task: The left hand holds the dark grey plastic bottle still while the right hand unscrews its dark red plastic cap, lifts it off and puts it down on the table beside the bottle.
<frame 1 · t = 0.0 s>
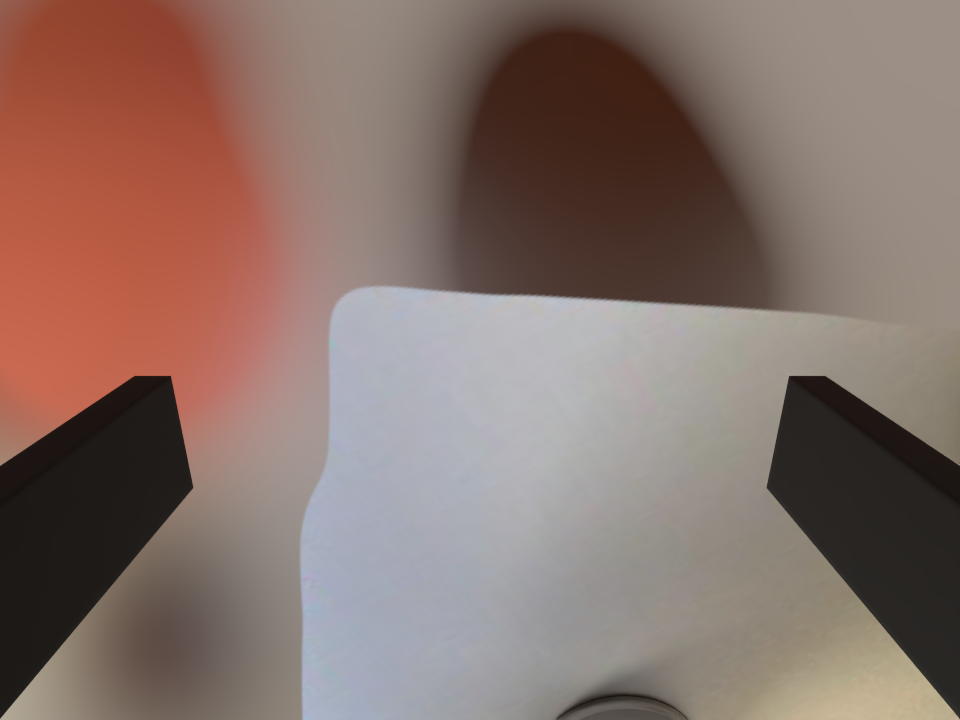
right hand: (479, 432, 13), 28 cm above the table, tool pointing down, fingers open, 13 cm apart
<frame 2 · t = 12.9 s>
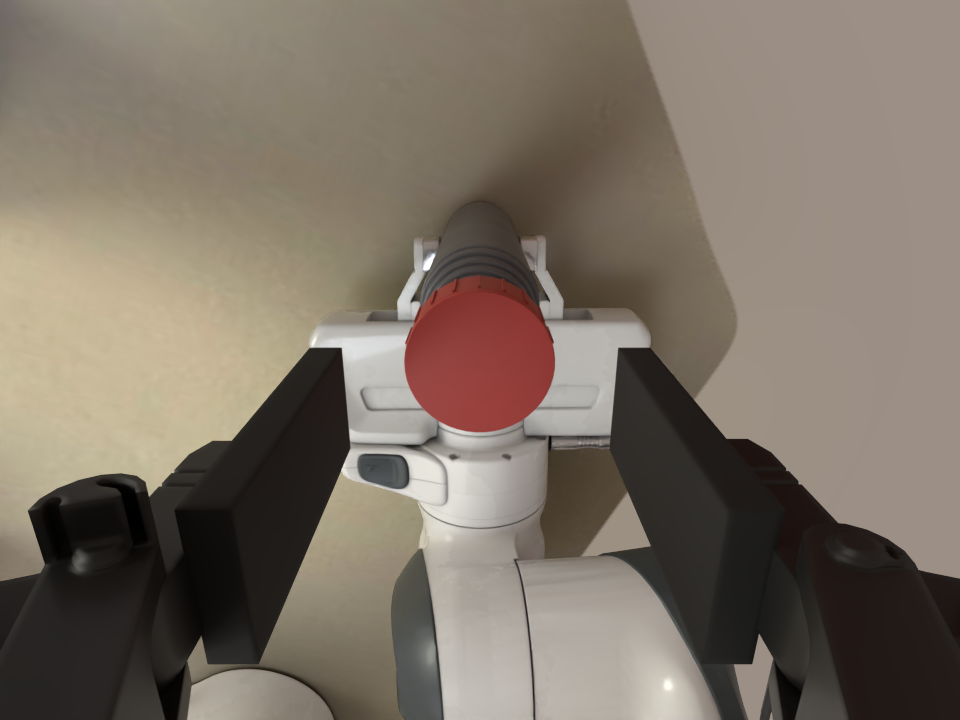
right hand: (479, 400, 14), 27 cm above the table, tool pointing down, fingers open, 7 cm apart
left hand: (479, 237, 33), fingers closed on bottle, 4 cm apart
cap: (479, 361, 17), point 24 cm above the table, screwed on, not yet turned
bottle: (480, 236, 39), on the table, touching left hand
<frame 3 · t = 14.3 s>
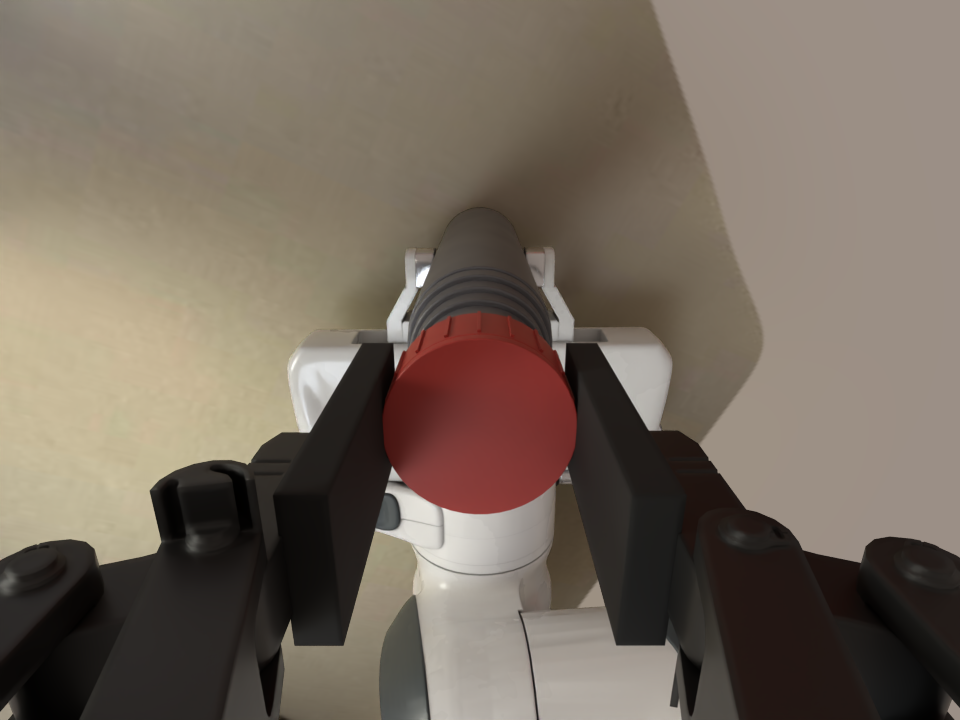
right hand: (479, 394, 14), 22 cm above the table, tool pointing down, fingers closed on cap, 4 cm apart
cap: (479, 425, 13), point 24 cm above the table, screwed on, not yet turned, touching right hand
bottle: (480, 246, 35), on the table, touching left hand
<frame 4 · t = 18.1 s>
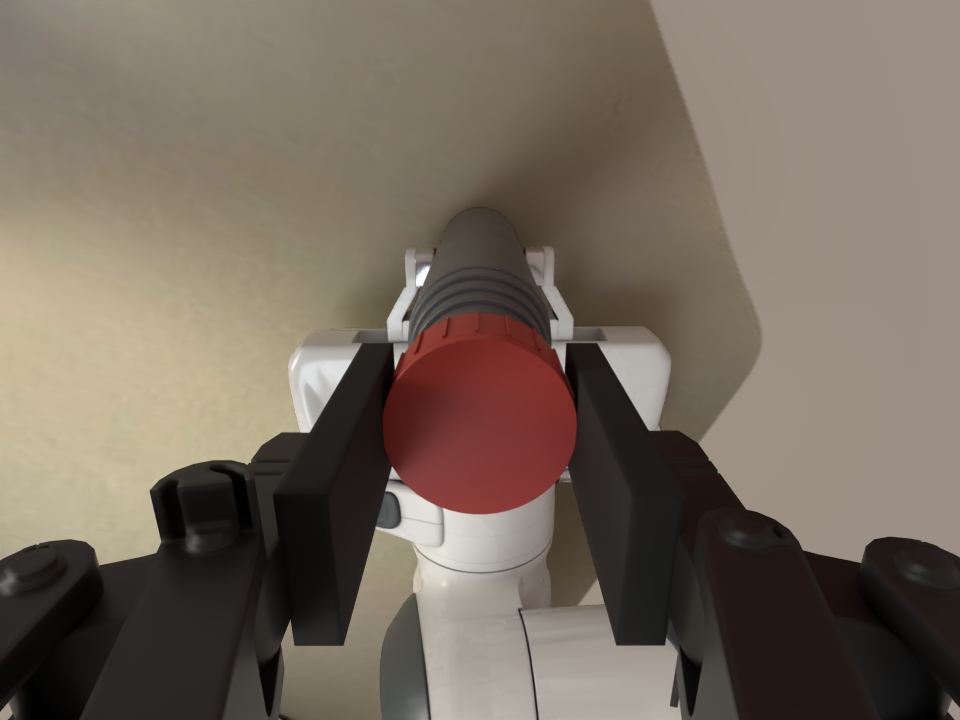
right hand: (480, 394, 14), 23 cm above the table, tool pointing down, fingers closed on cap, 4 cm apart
cap: (479, 425, 13), point 24 cm above the table, turned 134° so far, risen 0.2 cm, still on its thread, touching right hand
bottle: (479, 246, 36), on the table, touching left hand
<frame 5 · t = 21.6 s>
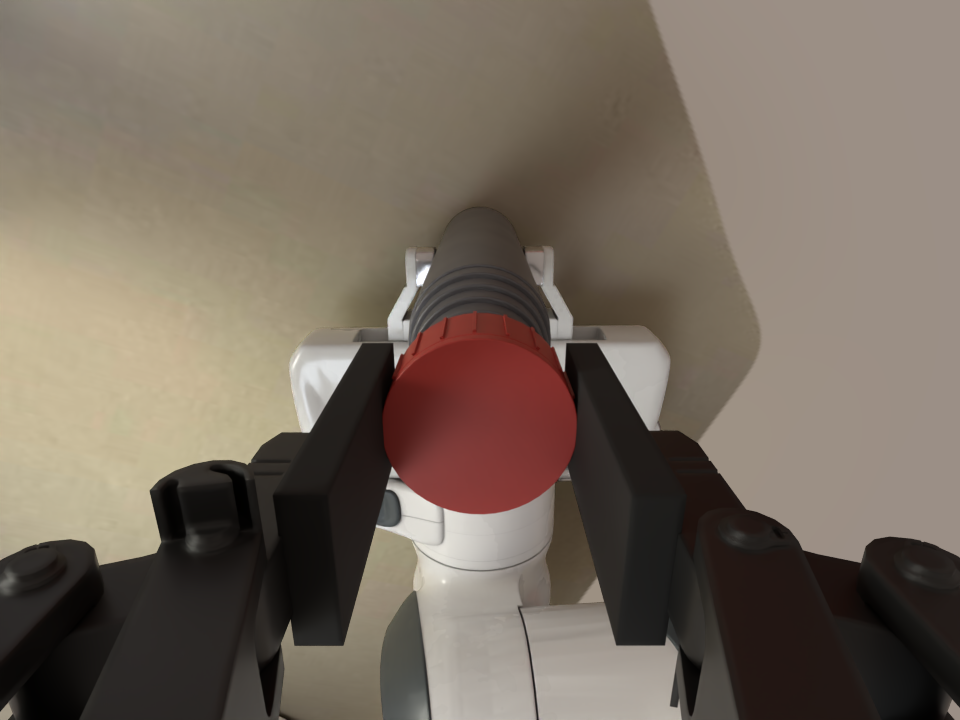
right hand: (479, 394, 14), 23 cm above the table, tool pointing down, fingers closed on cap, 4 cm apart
cap: (479, 425, 13), point 24 cm above the table, turned 268° so far, risen 0.3 cm, still on its thread, touching right hand
bottle: (479, 245, 36), on the table, touching left hand
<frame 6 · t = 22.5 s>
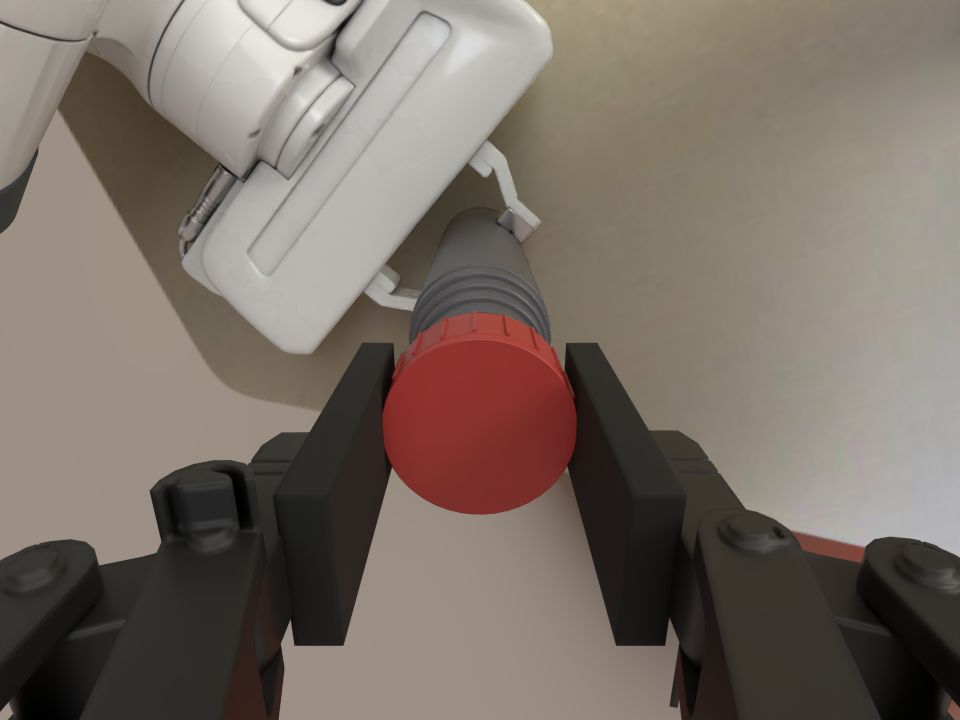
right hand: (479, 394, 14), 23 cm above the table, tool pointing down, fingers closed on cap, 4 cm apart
left hand: (493, 275, 30), fingers closed on bottle, 4 cm apart
cap: (479, 425, 13), point 25 cm above the table, off its thread, touching right hand
bottle: (479, 245, 36), on the table, touching left hand
when the right hand's fingers open (2 cm above the table, at t = 29.0 s): cap drops 2 cm, point 2 cm above the table.
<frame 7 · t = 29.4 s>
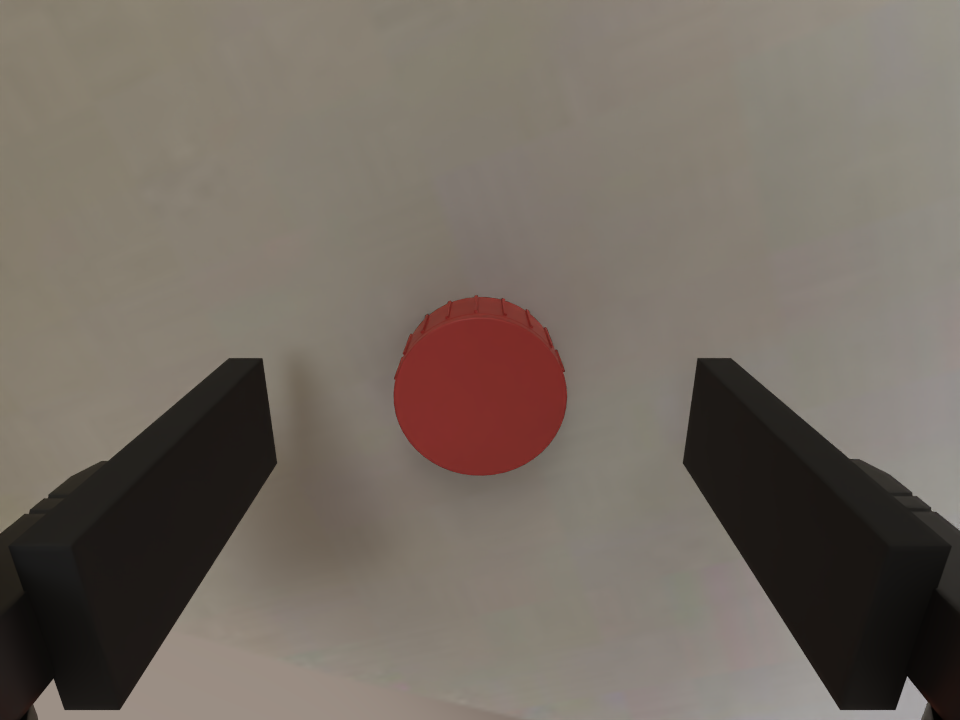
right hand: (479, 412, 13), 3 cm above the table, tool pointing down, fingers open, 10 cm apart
cap: (480, 395, 15), point 2 cm above the table, off its thread
when the left hand's fingers open (6 cm above the table, at t = 30.3 s): bottle stays where it is, on the table.
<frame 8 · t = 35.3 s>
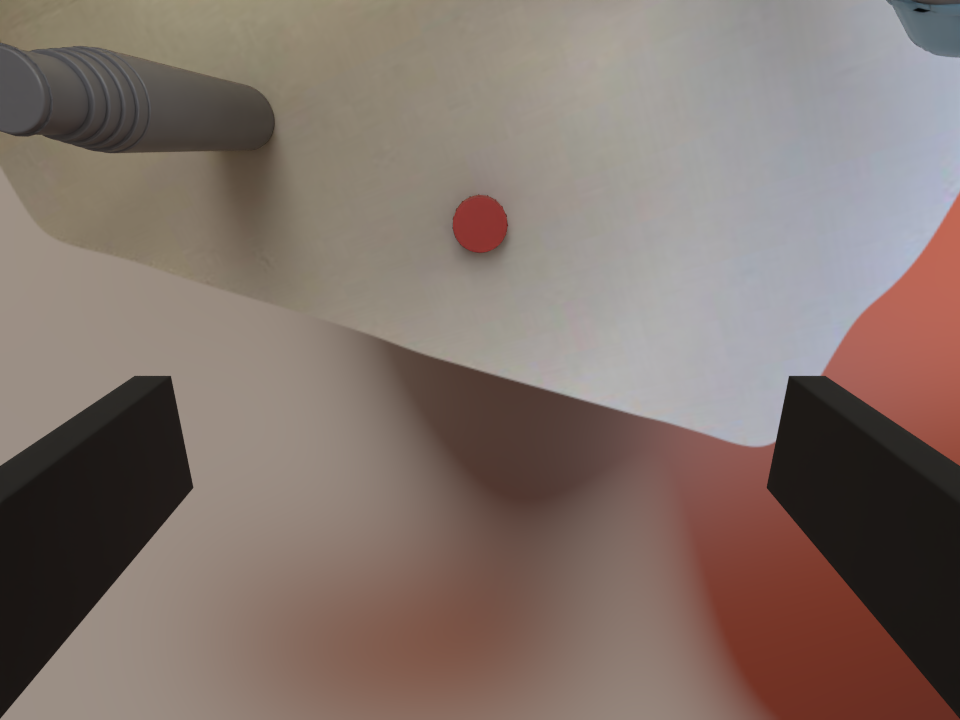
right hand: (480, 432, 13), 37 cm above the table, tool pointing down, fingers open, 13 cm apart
cap: (480, 224, 46), point 2 cm above the table, off its thread
bottle: (244, 117, 44), on the table
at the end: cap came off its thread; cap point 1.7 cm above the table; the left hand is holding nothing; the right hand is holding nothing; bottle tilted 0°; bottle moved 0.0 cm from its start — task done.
